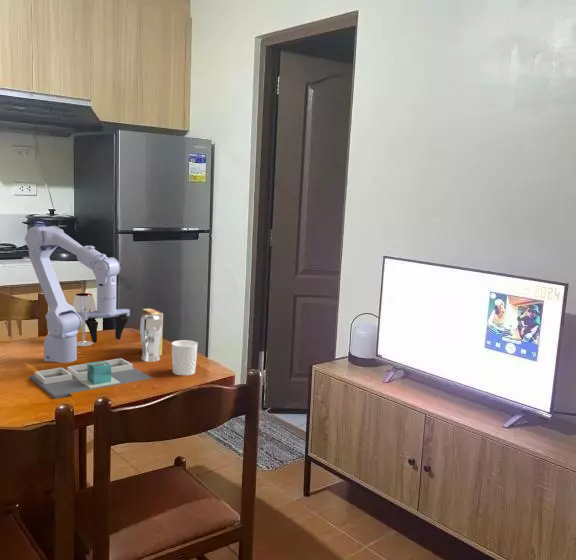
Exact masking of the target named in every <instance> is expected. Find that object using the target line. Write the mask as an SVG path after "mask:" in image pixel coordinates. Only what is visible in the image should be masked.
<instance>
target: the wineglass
mask: <svg viewBox="0 0 576 560" xmlns="http://www.w3.org/2000/svg"><path fill="white" fill-rule="evenodd" d="M73 298H74V299H73V301H72V302H73V303H72V305H71V306H73V307H74V308H75V310H76V312H77V313H78V314H79V315H80V317H81V320H82V341H77V347H89V346H92V345H93V344H94V342H92V341H89V340H86V323H85V321H84V320H83V319H82V313H86V312H92V311H97V305H96V303H95V299H94V295H93V294H92V293H89V292H79V293H75V295H74V297H73Z"/></svg>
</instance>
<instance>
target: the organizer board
mask: <svg viewBox="0 0 576 560" xmlns="http://www.w3.org/2000/svg"><path fill="white" fill-rule="evenodd" d="M104 361H105V362H107V363H109V364H110V365H111V382H107V383H102V384H96V385H94V384H92V383H91V382H90V381H88V380H87V363H81V364H76V365H75V364H74V365H70V366H66V367H67V368H66V369H65V368H64V367H55V368H51V369H44V370H37V371H34V374H33V375H29V380H31V381H32V382H33V383H35V384H36V385H37V386H38V387H39V388H41V389H42V390H43V391H44V392H46V393H47V394H48V395H49V396H50V397H52V398H53V399H55V400H56V399H62V398H67V397H72V396H73V395H72V394H75V393H80V392H85V391H90V390H91V391H92V390H97V389H101V388H106V387H112V386H118V385H123V384H124V385H125V384H129V383H134V382H139V381H145V380H151V379H153V377H151V376H150V375H148V374H146V373H145V372H143V371H140V370H139V369H138V368H136V367H134V364H133V363H132V362H129V361H127V360H126V359H123V358H122V357H121V358H115V359H108V360H104Z"/></svg>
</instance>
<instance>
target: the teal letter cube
mask: <svg viewBox="0 0 576 560" xmlns="http://www.w3.org/2000/svg"><path fill="white" fill-rule="evenodd" d="M105 361H106V360H100V361H94V362H87V363H86V364H87V380H88V381H90V382H91V383H92V384H94V385H96V384H102V383H107V382H111V365H110V364H109V363H107V362H105Z"/></svg>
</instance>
